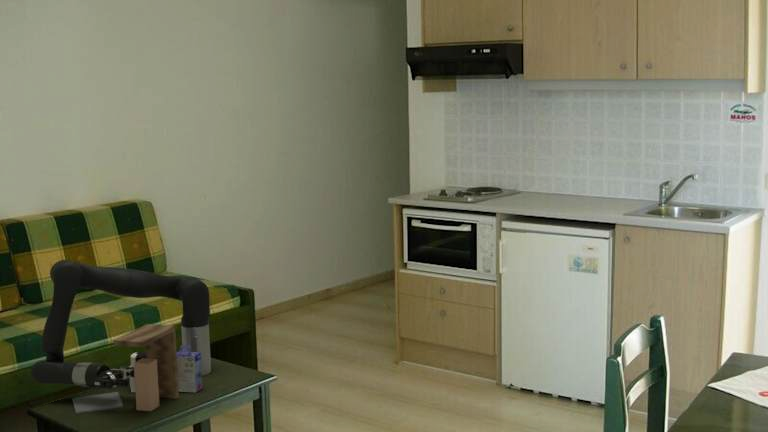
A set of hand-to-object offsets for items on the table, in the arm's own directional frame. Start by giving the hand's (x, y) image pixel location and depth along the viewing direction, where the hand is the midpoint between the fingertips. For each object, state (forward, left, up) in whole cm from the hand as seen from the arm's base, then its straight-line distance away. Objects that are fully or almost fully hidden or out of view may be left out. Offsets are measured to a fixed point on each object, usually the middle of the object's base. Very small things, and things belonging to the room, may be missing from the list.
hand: (135, 378), depth 285 cm
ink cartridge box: (-10, +17, -9) cm, 22 cm away
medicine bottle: (-18, +4, -9) cm, 20 cm away
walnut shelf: (+1, +3, -9) cm, 10 cm away
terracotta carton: (+2, +3, -9) cm, 10 cm away
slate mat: (-9, -11, -9) cm, 17 cm away
